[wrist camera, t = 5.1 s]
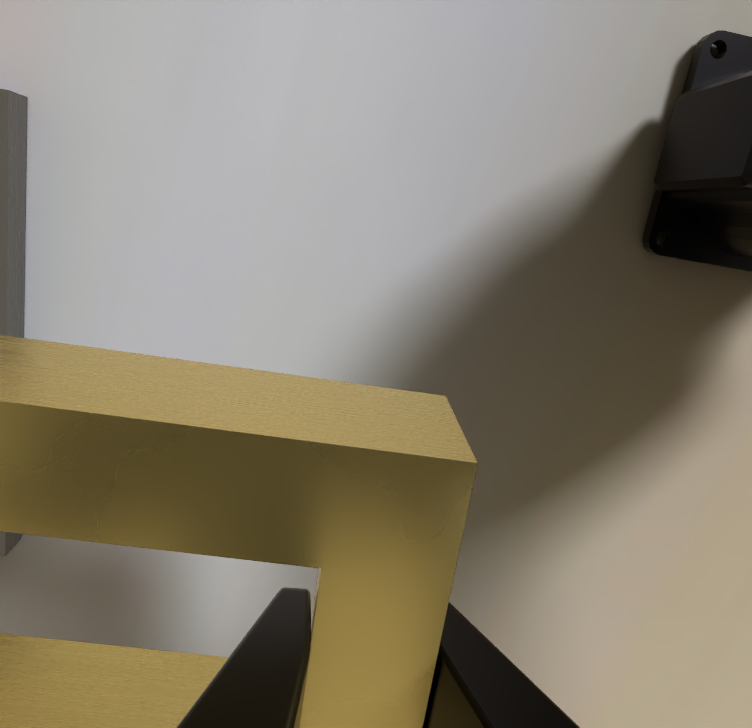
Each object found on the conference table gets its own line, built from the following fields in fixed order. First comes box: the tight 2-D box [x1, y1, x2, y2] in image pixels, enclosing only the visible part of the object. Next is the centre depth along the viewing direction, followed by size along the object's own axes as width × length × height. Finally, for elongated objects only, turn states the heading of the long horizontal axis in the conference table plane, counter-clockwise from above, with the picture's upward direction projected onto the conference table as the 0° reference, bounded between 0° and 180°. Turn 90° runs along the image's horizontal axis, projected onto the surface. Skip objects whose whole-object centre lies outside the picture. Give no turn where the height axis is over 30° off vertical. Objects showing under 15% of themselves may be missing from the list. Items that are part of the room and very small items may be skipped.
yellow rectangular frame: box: [0, 335, 478, 728], centre depth 8 cm, size 10×6×2 cm, turn 81°
